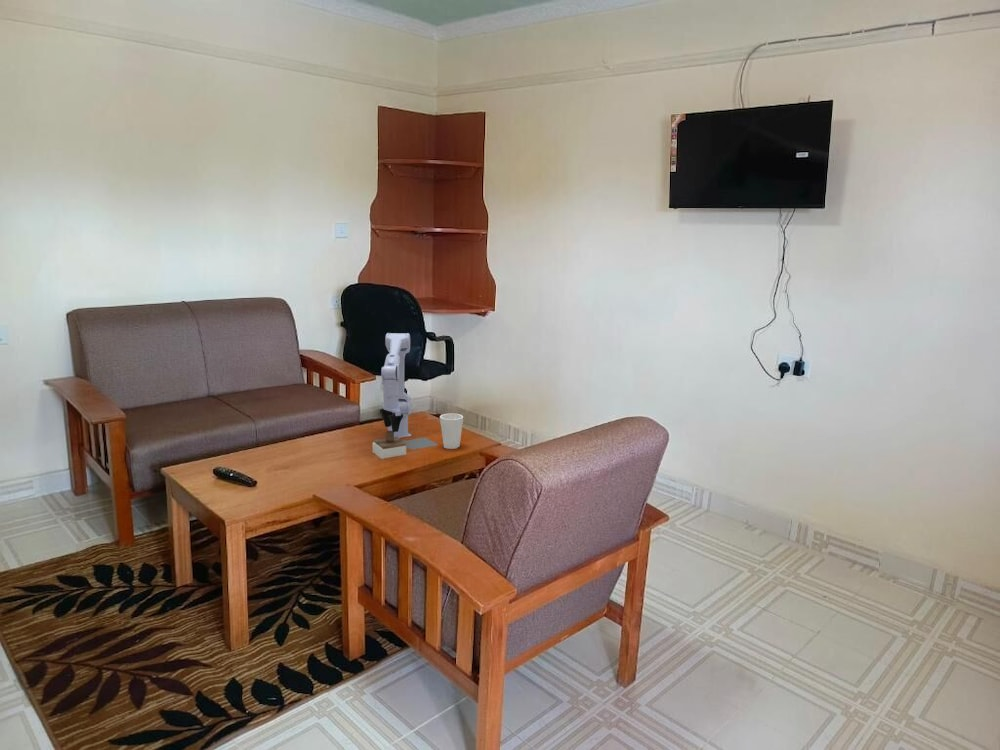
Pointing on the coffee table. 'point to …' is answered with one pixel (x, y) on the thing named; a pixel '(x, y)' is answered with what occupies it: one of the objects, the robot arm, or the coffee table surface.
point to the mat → (419, 443)
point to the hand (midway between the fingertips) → (391, 429)
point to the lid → (390, 441)
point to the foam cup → (451, 430)
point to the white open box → (388, 451)
